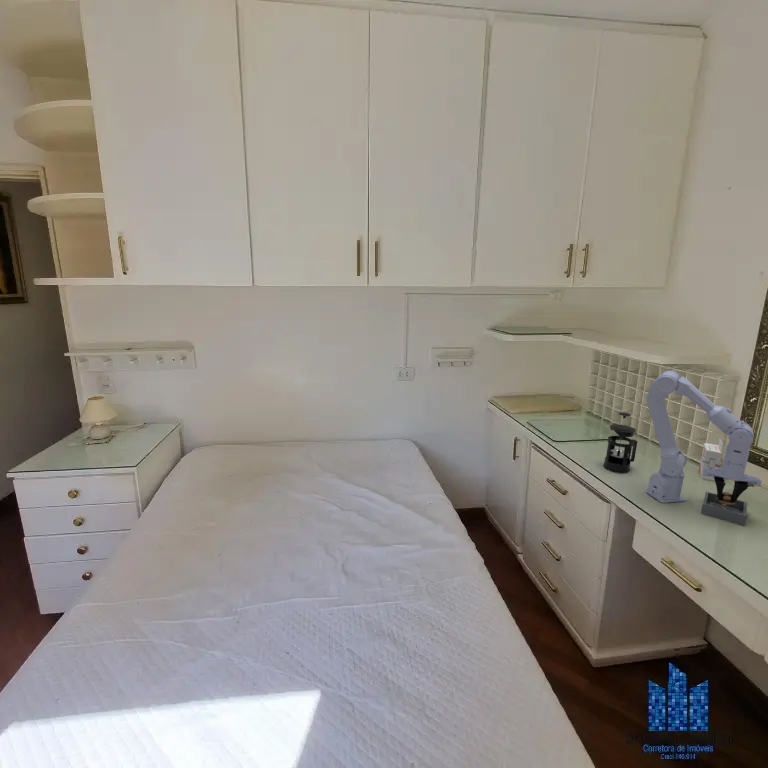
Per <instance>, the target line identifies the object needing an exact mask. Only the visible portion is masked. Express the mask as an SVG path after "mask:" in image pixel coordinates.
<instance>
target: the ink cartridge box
mask: <svg viewBox="0 0 768 768" xmlns="http://www.w3.org/2000/svg"><path fill="white" fill-rule="evenodd" d="M723 447H724V444H723V441H722V439H721V438H718V444H713V443H707V442H704V443H703V446H702V453H701V457H700V461H699V466H698V472H699V475H700V478H701V479H703V480H708V481H714V482H715V480H714V477H712V476H704V475H703V470H704V468H706V469H717V470H720V465H721V461H722V455H723V449H724V448H723Z"/></svg>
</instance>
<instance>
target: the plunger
mask: <svg viewBox="0 0 768 768" xmlns="http://www.w3.org/2000/svg"><path fill="white" fill-rule="evenodd" d="M732 498H733V495H732V493H729V492H727V491H723V492H722V498H721V500H718V498H716V500H717V501H718V502H720V503H722V505H721V504H717V503H713V502H710V504H709V505H712V506H716V507H720V508H723V509H727V510H730V511H734V512H737V513H738V511H739V509H735V508H732V507H728V506H727V505H735V503H732Z"/></svg>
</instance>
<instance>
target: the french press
mask: <svg viewBox="0 0 768 768" xmlns="http://www.w3.org/2000/svg"><path fill="white" fill-rule="evenodd" d="M618 415H620V416H622V419H623V420H622V424H621V423H620V424H619V423H618V424H616V423H615V424H610V425H609V428H610V431H614V432H615V433H616V435H610V436H608V437H607V449H606V456H605V457H604V461H603V462H604V463H603V467H604V469H606V470H608V471H609V472H612V473H618V474H627V473H630V472H631V469H630V467H631V462H632V463H633V462H635V457H636V452H637V447H638V446H637V445H638V440H636V439H633V438H632V437H634V436H635V435H634V434H635V433H636V428H635V427H632V426H629V425H626V424H625V420H626V419H627V417H631V416H632V414H631V413H628V412H626V411H625V412H622V411H619V412H618ZM617 440H619V442H617ZM622 441H625V442H628V443H625V444H624V443H622ZM615 447H618V448H615ZM621 448H624V449H621Z"/></svg>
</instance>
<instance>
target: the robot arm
mask: <svg viewBox="0 0 768 768" xmlns="http://www.w3.org/2000/svg"><path fill="white" fill-rule="evenodd" d="M673 392H674V395H675V396H684V397H687V399H689V400H690V401H691V402H693V403H694V404H695V405H697V406H698V407H699V408H700V409H701V410H703V411H704V412H706V419H707V420H709V421H710V422H711V423H712V424H713V425H714V426H716V427H717V428H718V429H719V430H720V431H721V432H723V434H725V435H727V437H728V438H727V439H728V443H727V444H726V448H725V452H724V456H723V461H722V465H721V469H719V470H717V469H706V468H704V470H703V475H704V476H712V477H714V480H715V481H714V482H715V486H716V494H717V498H718V500H721V498H722V492H724V488H725V486H726V482H725V481H726V480H729V481H734V484H733V489H732V493H731V494H732V495H733V498H732V503H735V502H736V500H737V499H739V497H740V495H741V494H743V493H744V492H745V491H746V490H748V488H749V485H748V484H751V485H755V486H756V487H757V486H758V487H761V485H762V481H763V480H762V479H761V478H760V477H756V476H752V475H748V474H745V471H746V467H747V463H748V461H749V460H748V459H749V454H750V449H751V445H752V443H753V442H754V434H755V433H754V430H753V428H752V426H750V424H749V423H746V422H745V421H744V420H741V419H739V418H738V417H737V416H736V415H734V413H732V409H731V408H729V407H727V408H726V407H725V406H722V405H716V404H715V403H713V402H712V401H711V400H710V399H709V398H708V397H707V396H706V395H705V394H704V393H703V392H701V391H700V390H699V389H698V388H697V387H696V386H695V385H694V384H693V383H692V382H690V380H689V379H687V378H686V377H685V376H681V374H680V373H679V372H678V371H675V370H673V369H671V370H665V371H663V372H662V373H661V374H660V375H659V376H658V377H657V378H655V380H653V382H652V383H651V386H650V387H649V390H648V393H647V395H646V398H645V400H646V404H647V407H648V410H649V414H650V415H649V416H650V419H651V421H652V424H653V428H654V431H655V434H656V437H657V441H658V445H659V448H660V459H661V461H660V465H659V466H660V468H659V470H658V471H657V472H656V473H652V474H651V475H650V476H649V480H648V481H649V482H648V486H647V490H645V493H647V494H648V495H650V496H651V497H652V498H654V499H656V500H657V501H658V502H660V503H662V504H665V503H675V502H677V503H679V502H686V501H687V499H686V498H685V497H683V496H682V495H681V494H682V489H683V484H684V478H685V473H684V467H685V466H686V464H687V457H686V456H685V454H683V452H682V450H681V448H680V446H679V445H678V443H677V441H676V437H675V433H674V430H673V427H672V424H671V420H670V416H669V413H668V410H667V407H666V404H665V399H666V398H667V396H669V395H670V394H672V393H673Z"/></svg>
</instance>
